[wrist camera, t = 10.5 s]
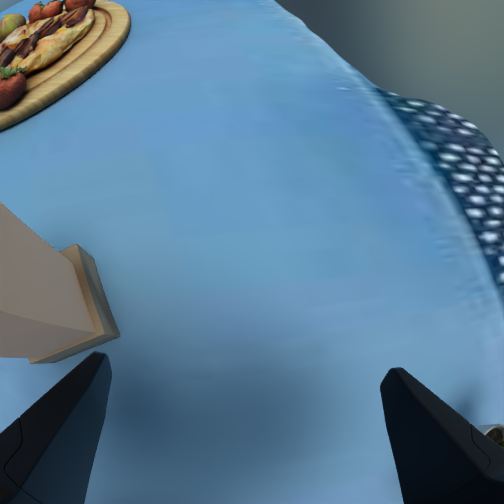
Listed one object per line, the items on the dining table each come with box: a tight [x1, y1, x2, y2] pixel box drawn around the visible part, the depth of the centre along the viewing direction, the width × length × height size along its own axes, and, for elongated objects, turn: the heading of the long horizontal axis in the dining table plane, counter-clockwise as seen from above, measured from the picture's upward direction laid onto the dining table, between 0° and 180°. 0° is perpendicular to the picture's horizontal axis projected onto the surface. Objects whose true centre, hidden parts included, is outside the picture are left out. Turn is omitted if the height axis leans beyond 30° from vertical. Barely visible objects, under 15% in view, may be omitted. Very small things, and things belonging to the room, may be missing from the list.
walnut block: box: [29, 244, 120, 364], centre depth 19 cm, size 6×6×4 cm
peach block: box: [0, 202, 97, 358], centre depth 11 cm, size 5×5×12 cm
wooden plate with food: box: [0, 0, 131, 130], centre depth 25 cm, size 32×32×8 cm
